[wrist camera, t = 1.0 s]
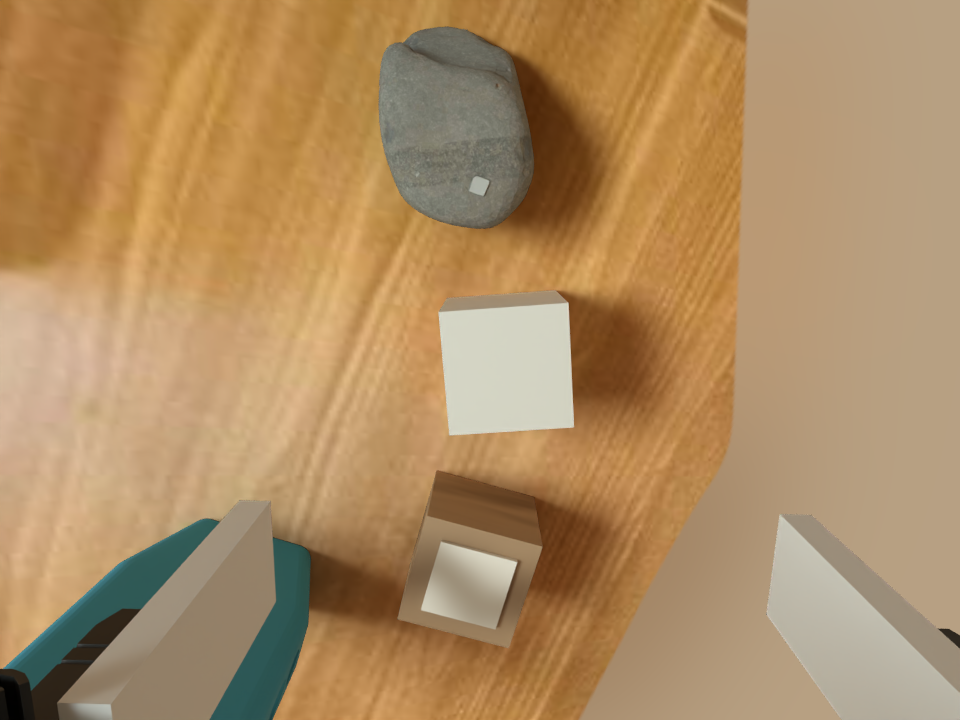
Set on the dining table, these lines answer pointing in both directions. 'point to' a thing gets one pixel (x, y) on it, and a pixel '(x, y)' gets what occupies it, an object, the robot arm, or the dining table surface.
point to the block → (138, 579)
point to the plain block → (507, 362)
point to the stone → (455, 127)
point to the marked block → (472, 560)
